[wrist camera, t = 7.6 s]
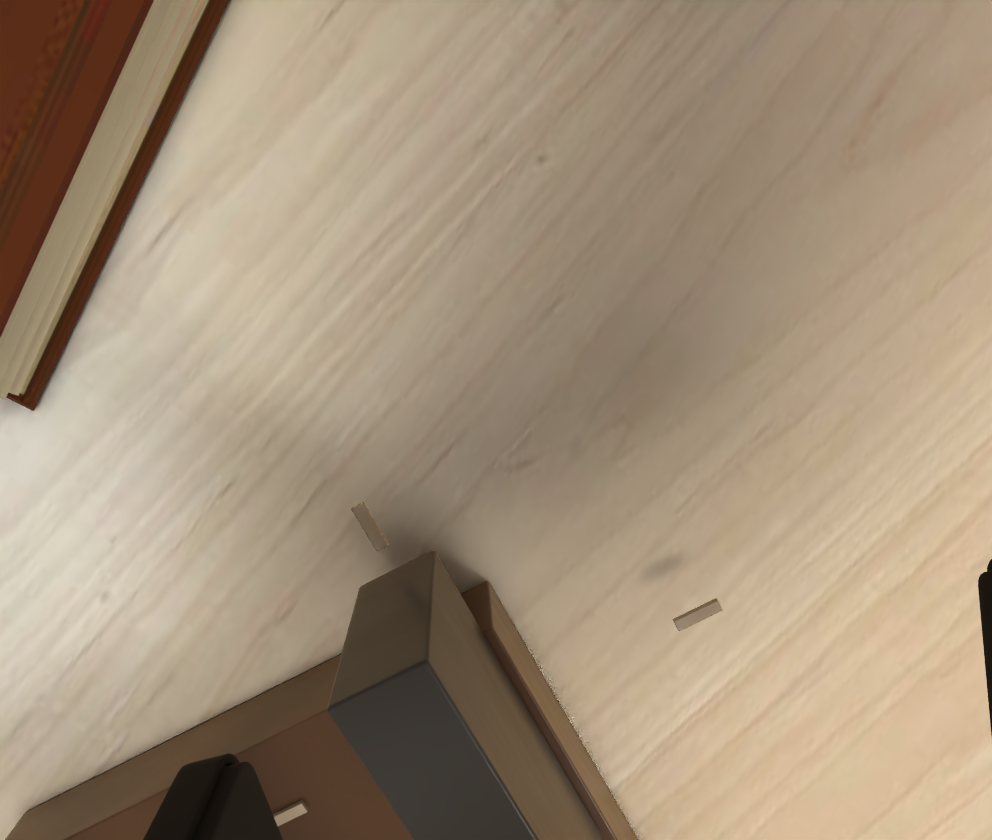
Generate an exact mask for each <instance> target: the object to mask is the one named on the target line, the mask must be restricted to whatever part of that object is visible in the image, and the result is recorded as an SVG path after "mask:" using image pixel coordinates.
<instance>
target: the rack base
mask: <svg viewBox="0 0 992 840" xmlns="http://www.w3.org/2000/svg"><path fill="white" fill-rule="evenodd" d="M351 510H352V512H353V513H354V515H355V516H356V518H357V520H358V521H359V523H360V525H361V526H362V528H363V529H364V531H365V533H366V534H367V536H368V538H369V539H370V541H371V542H372V544H373V546H374V547H375V549H376V550H377V551H379V550H381V549H383V548H385V547H386V546H388V544H389V543H388V541H387V540H386V538H385V537H384V535H383V533H382V532H381V530H380V528H379V527H378V525H377V523H376V522H375V520H374V518H373V517H372V515H371V514H370V512H369V510H368V509H367V507H366V505H365V504H364V502H362V503H360V504H358V505H356V506H354V507H352V509H351ZM461 596H462V598H463V599H464V601H465V603H466V605H467V606H468V608H469V610H470V611H471V613H472V615H473V616H474V618H475V620H476V622H477V623H478V625H479V627H480V628H481V630H482V632H483V634H484V635H485V637H486V639H487V640H488V642H489V644H490V645H491V647H492V649H493V651H494V652H495V654H496V656H497V657H498V659H499V661H500V663H501V664H502V666H503V668H504V669H505V671H506V673H507V674H508V676H509V678H510V680H511V681H512V683H513V685H514V686H515V688H516V690H517V691H518V693H519V695H520V697H521V698H522V700H523V702H524V703H525V705H526V707H527V709H528V710H529V712H530V714H531V715H532V717H533V719H534V720H535V722H536V724H537V726H538V727H539V729H540V731H541V732H542V734H543V736H544V738H545V739H546V741H547V743H548V744H549V746H550V748H551V749H552V751H553V753H554V755H555V756H556V758H557V760H558V761H559V763H560V765H561V767H562V768H563V770H564V772H565V773H566V775H567V777H568V778H569V780H570V782H571V784H572V785H573V787H574V789H575V790H576V792H577V794H578V795H579V797H580V799H581V801H582V802H583V804H584V806H585V807H586V809H587V811H588V813H589V814H590V816H591V818H592V819H593V821H594V823H595V824H596V826H597V828H598V830H599V831H600V833H601V837H602V840H638V839H637V837H636V836H635V834H634V832H633V831H632V829H631V827H630V825H629V824H628V822H627V820H626V818H625V817H624V815H623V813H622V811H621V810H620V808H619V806H618V805H617V803H616V801H615V799H614V798H613V796H612V794H611V792H610V791H609V789H608V787H607V785H606V784H605V782H604V780H603V779H602V777H601V775H600V773H599V772H598V770H597V768H596V766H595V765H594V763H593V761H592V760H591V758H590V756H589V754H588V753H587V751H586V749H585V747H584V746H583V744H582V742H581V740H580V739H579V737H578V735H577V734H576V732H575V730H574V728H573V727H572V725H571V723H570V721H569V720H568V718H567V716H566V714H565V713H564V711H563V709H562V708H561V706H560V704H559V702H558V701H557V699H556V697H555V695H554V694H553V692H552V690H551V688H550V687H549V685H548V683H547V682H546V680H545V678H544V676H543V675H542V673H541V671H540V669H539V668H538V666H537V664H536V662H535V661H534V659H533V657H532V656H531V654H530V652H529V650H528V649H527V647H526V645H525V643H524V642H523V640H522V638H521V636H520V635H519V633H518V631H517V630H516V628H515V626H514V624H513V623H512V621H511V619H510V617H509V616H508V614H507V612H506V611H505V609H504V607H503V605H502V604H501V602H500V600H499V598H498V597H497V595H496V593H495V591H494V590H493V588H492V586H491V585H490V583H489V582H488V581H487V582H485V583H483V584H481V585H479V586H477V587H475V588H473V589H471V590H469V591H467V592H465V593H463V594H461ZM720 611H722V608H721V606H720V604H719V602H718V600H717V599H716V598H715V599H713V600H711V601H709V602H707V603H705V604H703V605H701V606H699V607H697V608H695V609H693V610H691V611H689V612H687V613H685V614H683V615H681V616H678V617H676V618H674V619H673V621H674V623H675V625H676V627H677V629H678V631H681V630H683V629H685V628H687V627H689V626H691V625H693V624H695V623H697V622H699V621H701V620H703V619H705V618H708V617H710V616H712V615H714V614H716V613H718V612H720ZM340 658H341V655H339V656H337V657H335V658H333V659H331V660H329V661H327V662H325V663H323V664H321V665H319V666H317V667H315V668H313V669H311V670H309V671H307V672H305V673H303V674H301V675H299V676H297V677H295V678H293V679H291V680H289V681H287V682H285V683H283V684H281V685H279V686H277V687H275V688H273V689H271V690H269V691H267V692H265V693H263V694H261V695H259V696H257V697H255V698H253V699H251V700H249V701H247V702H245V703H243V704H241V705H239V706H237V707H235V708H233V709H231V710H229V711H227V712H225V713H223V714H221V715H219V716H217V717H215V718H213V719H211V720H209V721H207V722H205V723H203V724H201V725H199V726H197V727H195V728H193V729H191V730H189V731H187V732H185V733H183V734H181V735H179V736H177V737H175V738H173V739H171V740H169V741H167V742H165V743H163V744H161V745H159V746H157V747H155V748H153V749H151V750H149V751H147V752H145V753H143V754H141V755H139V756H137V757H135V758H133V759H131V760H129V761H127V762H125V763H123V764H121V765H119V766H117V767H115V768H113V769H111V770H109V771H107V772H105V773H103V774H101V775H99V776H97V777H95V778H93V779H91V780H89V781H87V782H85V783H83V784H81V785H79V786H77V787H75V788H73V789H71V790H69V791H67V792H65V793H63V794H61V795H59V796H57V797H55V798H53V799H51V800H49V801H47V802H45V803H43V804H41V805H39V806H37V807H35V808H33V809H31V810H29V811H27V812H26V813H25V814H24V815H23V816H22V818H21V819H20V820H19V822H18V823H17V824H16V826H15V827H14V828H13V830H12V831H11V832H10V834H9V835H8V837H7V838H6V839H5V840H143V839H144V837H145V835H146V833H147V831H148V829H149V827H150V825H151V823H152V821H153V819H154V817H155V816H156V814H157V812H158V810H159V808H160V806H161V804H162V802H163V800H164V798H165V796H166V794H167V792H168V790H169V788H170V787H171V785H172V783H173V781H174V779H175V777H176V775H177V773H178V772H179V770H180V769H181V767H182V766H184V765H186V764H188V763H192V762H196V761H200V760H204V759H208V758H212V757H216V756H219V755H223V754H227V753H229V754H233V755H234V756H235V757H236V758H237V759H238V761H239V762H240V763H241V762H245V761H246V762H249V763H250V764H251V765H252V766H253V768H254V770H255V772H256V774H257V777H258V779H259V782H260V784H261V787H262V789H263V792H264V794H265V796H266V799H267V801H268V804H269V806H270V809H271V811H272V814H273V816H274V819H275V821H276V824H277V826H278V828H279V831H280V833H281V836H282V838H283V840H414V839H413V838H412V836H411V835H410V833H409V832H408V830H407V829H406V827H405V826H404V824H403V823H402V821H401V820H400V819H399V817H398V816H397V814H396V813H395V811H394V810H393V808H392V807H391V805H390V804H389V802H388V801H387V799H386V798H385V796H384V795H383V793H382V792H381V790H380V789H379V787H378V786H377V784H376V783H375V782H374V780H373V779H372V777H371V776H370V774H369V773H368V771H367V770H366V768H365V767H364V765H363V764H362V762H361V761H360V759H359V758H358V756H357V755H356V753H355V752H354V750H353V749H352V747H351V746H350V745H349V743H348V742H347V740H346V739H345V737H344V736H343V734H342V733H341V731H340V730H339V728H338V727H337V725H336V724H335V722H334V721H333V719H332V718H331V716H330V715H329V713H328V711H327V706H328V702H329V699H330V695H331V691H332V688H333V684H334V680H335V676H336V673H337V669H338V665H339V662H340Z"/></svg>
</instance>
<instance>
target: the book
mask: <svg viewBox="0 0 992 840" xmlns="http://www.w3.org/2000/svg"><path fill="white" fill-rule="evenodd" d="M228 1H229V0H0V398H4V399H6V397H7V398H9V399H11V400H13V401H15V402H17V403H19V404H21V405H22V406H24V407H26V408H28V409H30V410H32V411H34V409H35V407H36V405H37V403H38V401H39V399H40V397H41V395H42V393H43V391H44V388H45V386H46V384H47V382H48V380H49V378H50V376H51V374H52V372H53V369H54V367H55V365H56V363H57V361H58V359H59V357H60V355H61V353H62V351H63V348H64V346H65V344H66V342H67V340H68V338H69V336H70V334H71V332H72V330H73V327H74V325H75V323H76V321H77V319H78V317H79V315H80V313H81V311H82V308H83V306H84V304H85V302H86V300H87V298H88V296H89V294H90V292H91V290H92V287H93V285H94V283H95V281H96V279H97V277H98V275H99V273H100V271H101V268H102V266H103V264H104V262H105V260H106V258H107V256H108V254H109V252H110V250H111V247H112V245H113V243H114V241H115V239H116V237H117V235H118V233H119V231H120V229H121V226H122V224H123V222H124V220H125V218H126V216H127V214H128V212H129V210H130V207H131V205H132V203H133V201H134V199H135V197H136V195H137V193H138V191H139V189H140V186H141V184H142V182H143V180H144V178H145V176H146V174H147V172H148V170H149V168H150V165H151V163H152V161H153V159H154V157H155V155H156V153H157V151H158V149H159V146H160V144H161V142H162V140H163V138H164V136H165V134H166V132H167V130H168V128H169V125H170V123H171V121H172V119H173V117H174V115H175V113H176V111H177V109H178V106H179V104H180V102H181V100H182V98H183V96H184V94H185V92H186V90H187V88H188V85H189V83H190V81H191V79H192V77H193V75H194V73H195V71H196V69H197V67H198V64H199V62H200V60H201V58H202V56H203V54H204V52H205V50H206V48H207V45H208V43H209V41H210V39H211V37H212V35H213V33H214V31H215V29H216V27H217V24H218V22H219V20H220V18H221V16H222V14H223V12H224V10H225V8H226V6H227V3H228Z"/></svg>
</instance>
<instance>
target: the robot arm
mask: <svg viewBox="0 0 992 840" xmlns="http://www.w3.org/2000/svg"><path fill="white" fill-rule="evenodd" d="M978 588H979V600H980V611H981V622H982V633H983V644H984V656H985V667H986V678H987V689H988V700H989V711H990V723H991V734H992V559H991V560H990V562H989V564H988V566H987V572H984V573H982V574H981V575H980V577H979V580H978ZM143 840H283V838H282V836H281V833H280V831H279V828H278V826H277V824H276V821H275V819H274V816H273V814H272V811H271V809H270V806H269V804H268V801H267V799H266V796H265V794H264V792H263V789H262V787H261V784H260V782H259V779H258V777H257V774H256V772H255V770H254V768H253V766H252V765H251V764H250V763H249V762H246V761H245V762H241V763H240V762H239V761H238V759H237V758H236V757H235V756H234V755H233V754H229V753H227V754H223V755H219V756H216V757H212V758H208V759H204V760H200V761H196V762H192V763H188V764H186V765H184V766H182V767H181V769H180V770H179V772H178V773H177V775H176V777H175V779H174V781H173V783H172V785H171V787H170V788H169V790H168V792H167V794H166V796H165V798H164V800H163V802H162V804H161V806H160V808H159V810H158V812H157V814H156V816H155V817H154V819H153V821H152V823H151V825H150V827H149V829H148V831H147V833H146V835H145V837H144V839H143Z"/></svg>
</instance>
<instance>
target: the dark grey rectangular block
mask: <svg viewBox="0 0 992 840" xmlns="http://www.w3.org/2000/svg"><path fill="white" fill-rule="evenodd" d="M327 711H328V713H329V715H330V716H331V718H332V719H333V721H334V722H335V724H336V725H337V727H338V728H339V730H340V731H341V733H342V734H343V736H344V737H345V739H346V740H347V742H348V743H349V745H350V746H351V747H352V749H353V750H354V752H355V753H356V755H357V756H358V758H359V759H360V761H361V762H362V764H363V765H364V767H365V768H366V770H367V771H368V773H369V774H370V776H371V777H372V779H373V780H374V782H375V783H376V784H377V786H378V787H379V789H380V790H381V792H382V793H383V795H384V796H385V798H386V799H387V801H388V802H389V804H390V805H391V807H392V808H393V810H394V811H395V813H396V814H397V816H398V817H399V819H400V820H401V821H402V823H403V824H404V826H405V827H406V829H407V830H408V832H409V833H410V835H411V836H412V838H413V839H414V840H602V837H601V833H600V831H599V830H598V828H597V826H596V824H595V823H594V821H593V819H592V818H591V816H590V814H589V813H588V811H587V809H586V807H585V806H584V804H583V802H582V801H581V799H580V797H579V795H578V794H577V792H576V790H575V789H574V787H573V785H572V784H571V782H570V780H569V778H568V777H567V775H566V773H565V772H564V770H563V768H562V767H561V765H560V763H559V761H558V760H557V758H556V756H555V755H554V753H553V751H552V749H551V748H550V746H549V744H548V743H547V741H546V739H545V738H544V736H543V734H542V732H541V731H540V729H539V727H538V726H537V724H536V722H535V720H534V719H533V717H532V715H531V714H530V712H529V710H528V709H527V707H526V705H525V703H524V702H523V700H522V698H521V697H520V695H519V693H518V691H517V690H516V688H515V686H514V685H513V683H512V681H511V680H510V678H509V676H508V674H507V673H506V671H505V669H504V668H503V666H502V664H501V663H500V661H499V659H498V657H497V656H496V654H495V652H494V651H493V649H492V647H491V645H490V644H489V642H488V640H487V639H486V637H485V635H484V634H483V632H482V630H481V628H480V627H479V625H478V623H477V622H476V620H475V618H474V616H473V615H472V613H471V611H470V610H469V608H468V606H467V605H466V603H465V601H464V599H463V598H462V596H461V594H460V593H459V591H458V589H457V588H456V586H455V584H454V582H453V581H452V579H451V577H450V576H449V574H448V572H447V570H446V569H445V567H444V565H443V564H442V562H441V560H440V559H439V557H438V555H437V553H436V552H435V551H430V552H428V553H426V554H424V555H422V556H420V557H418V558H416V559H414V560H412V561H410V562H408V563H406V564H404V565H402V566H400V567H398V568H396V569H394V570H392V571H390V572H388V573H386V574H384V575H382V576H380V577H378V578H376V579H374V580H372V581H370V582H368V583H366V584H364V585H362V586H361V587H360V588H359V592H358V595H357V599H356V603H355V606H354V610H353V614H352V617H351V621H350V625H349V628H348V632H347V636H346V640H345V643H344V647H343V651H342V654H341V658H340V662H339V665H338V669H337V673H336V676H335V680H334V684H333V688H332V691H331V695H330V699H329V702H328V706H327Z"/></svg>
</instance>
